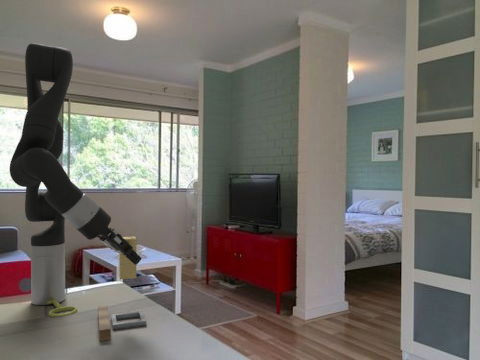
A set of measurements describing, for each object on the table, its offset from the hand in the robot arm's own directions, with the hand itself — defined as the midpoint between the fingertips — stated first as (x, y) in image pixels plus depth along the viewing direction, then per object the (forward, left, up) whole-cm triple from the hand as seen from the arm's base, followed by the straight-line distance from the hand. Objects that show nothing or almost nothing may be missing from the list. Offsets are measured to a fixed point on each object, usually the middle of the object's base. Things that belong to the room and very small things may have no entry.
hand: (134, 259), depth 104 cm
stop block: (0, -2, -4) cm, 5 cm away
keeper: (0, -2, -16) cm, 16 cm away
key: (-16, -19, -17) cm, 30 cm away
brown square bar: (+1, -8, -16) cm, 18 cm away
